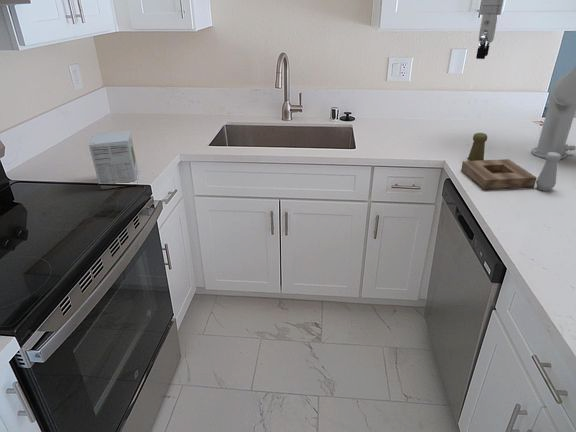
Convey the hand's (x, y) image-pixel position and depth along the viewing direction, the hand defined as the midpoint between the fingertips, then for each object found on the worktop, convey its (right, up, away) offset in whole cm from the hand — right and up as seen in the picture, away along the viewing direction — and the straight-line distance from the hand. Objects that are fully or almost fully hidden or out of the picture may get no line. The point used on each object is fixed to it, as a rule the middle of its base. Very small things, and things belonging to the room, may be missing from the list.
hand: (481, 57), depth 170 cm
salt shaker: (+9, -56, -26) cm, 62 cm away
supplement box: (-143, -52, -12) cm, 153 cm away
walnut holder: (-3, -52, -18) cm, 55 cm away
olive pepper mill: (-3, -42, 0) cm, 42 cm away
